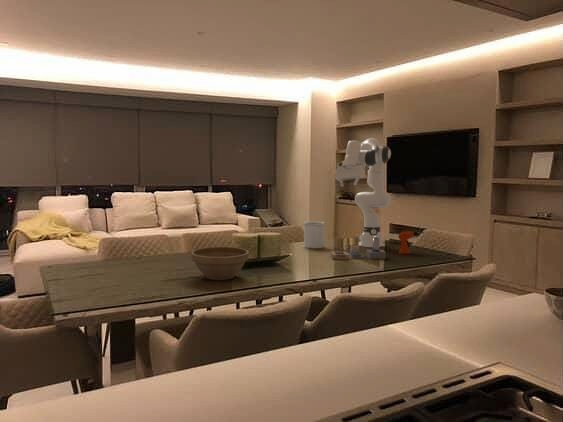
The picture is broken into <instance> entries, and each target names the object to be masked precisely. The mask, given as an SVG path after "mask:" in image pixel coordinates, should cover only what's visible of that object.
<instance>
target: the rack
mask: <svg viewBox="0 0 563 422" xmlns="http://www.w3.org/2000/svg"><path fill="white" fill-rule="evenodd" d="M348 253H349V252H348V251H330V258H331V260H350V256H349V254H348Z"/></svg>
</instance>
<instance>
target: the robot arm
mask: <svg viewBox="0 0 563 422" xmlns="http://www.w3.org/2000/svg"><path fill="white" fill-rule="evenodd" d="M345 150H346V151H345V157H344V160H342V161H341V162H339V163H337V164H336V167H337V168H336V169H335V172H334V179H335V180H336V181H339V183H340V185H339V186H340V187H344V186H345V183H344V181H348V180H354V181H353V186H357V185H358V182H359V181H360V179H365V176H366V167H367V166H369V167H368V174H367V180H366V184H367V185H368V187H370V188H371V189H373V191H362V192H357V193H356V194H355V196H354V202H355V205H356V206H357V207H359V209H360V210H361V211H362V214H363V227H362V231H363V232H362V234H361V235H360V236H359V237H358V238H359V239H358V240H359V241H358V245H357V246H358V247H364V248H373V238H374V236H379V238H380V239H379V248H380V247H385V244H384V243H383V234H382V233H381V217H380V215H379V213H377V212H375V211H374V209H373V208H379V209H380V208H381V209H382V208H387V207H389V206H390V203H391V202H392V200H391V199H392V197H391V195H390V194H389V193H388V192H387V191H386V190H385V187H384V176H385V175H384V174H385V164H386V163H387V162H388V161H389V160H390V159H391V155H392V151H391V149H390V147H389V146H385V145H384V146H381V145H380V142H379V140H378V138H375V137H369V138H367V139H365V140H363V142H361V141H360V140H359V139H358V140H357V139H351V140H349V141H348V142H347V145H346V149H345Z"/></svg>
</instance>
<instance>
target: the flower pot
mask: <svg viewBox="0 0 563 422" xmlns="http://www.w3.org/2000/svg"><path fill="white" fill-rule="evenodd" d="M190 254H191V255H190V258H191V261H193V262H194V264H195V266H196V267H197V269H198V270H199V271H200V272H201V273H202V274H203V275H204V276H205V277H206V279H208V280H213V281H225V280H231V279H234V278H235V276H236V275H237V274H238V273H239V272H240V270H242V267H244V266H245V263H246V261H248V260H249V257H250V256H249V250H247V249H245V248H240V247H235V246H211V247H202V248H198V249H197V248H196V249H194V250H192V251H191V253H190Z"/></svg>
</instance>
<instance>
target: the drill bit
mask: <svg viewBox="0 0 563 422" xmlns="http://www.w3.org/2000/svg"><path fill="white" fill-rule="evenodd" d="M379 239H380V238H379V236H374V238H373V247H372V250H373V252H379V250H380V247H379Z"/></svg>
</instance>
